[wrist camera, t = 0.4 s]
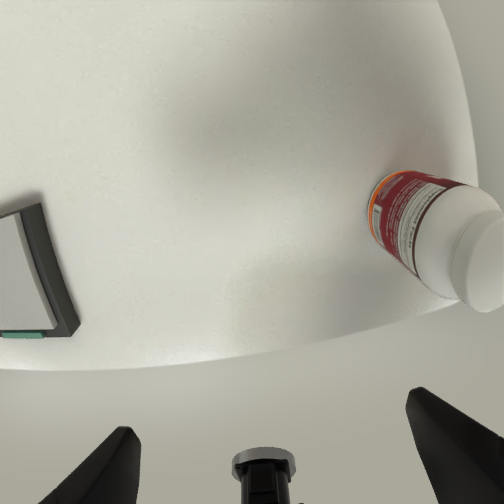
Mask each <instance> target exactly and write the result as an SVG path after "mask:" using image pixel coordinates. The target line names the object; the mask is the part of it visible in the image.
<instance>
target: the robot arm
mask: <svg viewBox="0 0 504 504" xmlns="http://www.w3.org/2000/svg"><path fill="white" fill-rule="evenodd" d="M406 413H407V417H408V420H409V423H410V427H411V430H412V433H413V437H414V440H415V444H416V447H417V450H418V453H419V455H420V458H421V460H422V462H423V465H424V467H425V470H426V472H427V475H428V477H429V480H430V482H431V485H432V487H433V489H434V492H435V495H436V498H437V500H438V503H439V504H504V438H502V437H501V436H499V437H498V435H497V434H496V433H494V432H493V431H491V430H489V429H488V428H486V427H484V426H483V425H481V424H480V423H478V422H477V421H475V420H474V419H472V418H470V417H468V416H467V415H466V414H464V413H462V412H461V411H459V410H458V409H456V408H455V407H453V406H451V405H450V404H448V403H447V402H445V401H443V400H442V399H440V398H439V397H437V396H436V395H434V394H433V393H431V392H429V391H428V390H427V389H425V388H423V387H418V388H415V389H412V390H410V392H409V395H408V399H407V403H406ZM140 457H141V442H140V440H139V438H138V437H137V436H136V434H135V433H134V431H133V430H132V428H131V427H128V426H127V427H126V426H119V427H117V428H116V429H115V430H114V431H113V432H112V433H111V434H110V435H109V436H108V438H106V439H105V440H104V441H103V442H102V443H101V444H100V445H99V446H98V447H97V448H96V449H95V450H94V451H93V452H92V453H91V454H90V455H89V456H88V457H87V458H86V459H85V460H84V461H83V462H82V463H81V464H80V465H79V466H78V467H77V468H76V469H75V470H74V471H73V472H72V473H71V474H70V475H69V476H68V477H67V478H65V479H64V480H63V481H62V482H61V483H60V484H59V485H58V486H57V488H56V489H54V490H53V491H52V492H51V493H50V494H49V495H47V496H46V497H45V498H44V499H43V500H42V501H41V502H39V503H38V504H136V499H137V494H138V487H139V477H140ZM234 468H235V471H236V473H237V475H238V477H239V480H240V482H241V504H290V498H289V488H288V483H289V482H291V476H290V469H289V461H288V460H287V459H281V460H272V461H263V462H251V463H237V464H235V466H234ZM299 504H303V503H299Z"/></svg>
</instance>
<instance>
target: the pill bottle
mask: <svg viewBox="0 0 504 504" xmlns="http://www.w3.org/2000/svg"><path fill="white" fill-rule="evenodd" d="M367 219H368V225H369V229H370V231H371V234H372V236H373V237H374V239H375V240H376V241H377V243H378V244H379V245H380V246H381V247H382V248H383V249H384V250H386V251H387V252H388V253H389V254H390V255H391V256H393V257H394V258H395V259H396V260H397V261H398V262H399V263H401V264H402V265H403V266H404V267H405V268H406V269H407V270H409V271H410V272H411V273H412V274H413V275H414V276H415V277H416V278H417V279H419V280H420V281H421V282H422V283H423V284H424V285H425V286H426V287H427V288H428V289H430V290H431V291H432V292H433V293H435V294H436V295H438V296H440V297H443V298H445V299H450V300H459V299H461V300H462V301H463V302H464V303H466V304H467V305H468V306H470V307H471V308H472V309H473V310H475V311H477V312H481V313H486V312H491V311H494V310H495V309H497V308H499V307H500V306H502V305H503V304H504V212H502V211H501V209H500V207H499V206H498V204H497V202H496V201H495V200H494V199H493V198H492V197H491V196H490V195H489V194H488V193H486V192H485V191H483V190H481V189H479V188H476V187H473V186H470V185H466V184H463V183H459V182H455V181H452V180H448V179H444V178H440V177H436V176H432V175H428V174H424V173H420V172H416V171H409V170H402V171H397V172H394V173H391V174H390V175H388V176H386V177H385V178H384V179H383V180H382V181H381V182H380V183H379V184H378V185H377V186H376V188H375V189H374V191H373V193H372V195H371V197H370V200H369V204H368V210H367Z"/></svg>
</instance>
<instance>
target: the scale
mask: <svg viewBox="0 0 504 504" xmlns="http://www.w3.org/2000/svg"><path fill="white" fill-rule="evenodd" d="M79 326H80V322H79V320H78V317H77V315H76V312H75V310H74V308H73V305H72V302H71V300H70V297H69V295H68V292H67V289H66V287H65V284H64V281H63V278H62V275H61V273H60V270H59V267H58V264H57V261H56V257H55V254H54V251H53V248H52V244H51V241H50V238H49V234H48V231H47V227H46V223H45V219H44V215H43V211H42V207H41V203H37V204H34V205H31V206H28V207H25V208H22V209H19V210H16V211H13V212H11V213H8V214H5V215H2V216H0V337H3V338H38V339H41V338H44V337H71V336H72V335H73V334H74V332H75V331H76V330H77V328H78V327H79Z"/></svg>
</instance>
